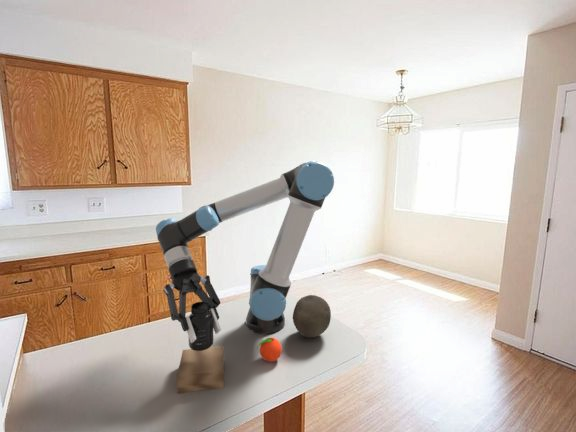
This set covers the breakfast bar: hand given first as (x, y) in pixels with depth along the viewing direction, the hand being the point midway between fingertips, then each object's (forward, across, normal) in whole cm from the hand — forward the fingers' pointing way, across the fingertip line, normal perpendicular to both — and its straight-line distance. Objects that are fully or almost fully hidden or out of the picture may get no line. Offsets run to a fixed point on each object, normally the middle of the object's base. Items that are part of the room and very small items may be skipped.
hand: (206, 336), depth 83 cm
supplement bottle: (+1, 0, -6) cm, 6 cm away
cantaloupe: (+11, -40, -8) cm, 42 cm away
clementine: (+12, -20, -8) cm, 24 cm away
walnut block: (+7, 0, -12) cm, 14 cm away
